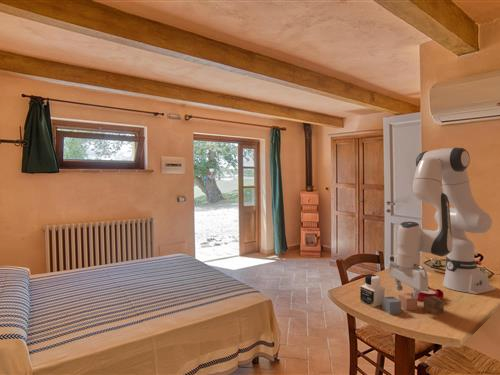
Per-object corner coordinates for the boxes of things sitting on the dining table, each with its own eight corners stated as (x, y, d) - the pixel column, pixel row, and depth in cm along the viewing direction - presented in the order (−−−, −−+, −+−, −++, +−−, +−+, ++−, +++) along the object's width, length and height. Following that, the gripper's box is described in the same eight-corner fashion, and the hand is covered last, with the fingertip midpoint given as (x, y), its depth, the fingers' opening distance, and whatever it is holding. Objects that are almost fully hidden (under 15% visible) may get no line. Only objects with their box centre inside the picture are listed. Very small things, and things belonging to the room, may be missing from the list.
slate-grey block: (393, 308, 132) (393, 296, 132) (400, 313, 127) (401, 301, 127) (382, 309, 131) (382, 297, 131) (389, 314, 126) (390, 302, 126)
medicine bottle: (359, 301, 139) (360, 274, 138) (371, 298, 142) (371, 272, 142) (373, 307, 133) (373, 279, 132) (384, 304, 136) (385, 276, 136)
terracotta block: (408, 304, 136) (409, 293, 136) (417, 309, 131) (417, 297, 131) (398, 305, 135) (398, 294, 135) (406, 310, 130) (406, 298, 130)
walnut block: (434, 308, 132) (434, 296, 132) (443, 313, 128) (443, 301, 127) (423, 309, 132) (423, 297, 131) (432, 314, 127) (433, 302, 126)
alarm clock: (407, 290, 143) (424, 277, 151) (408, 303, 144) (425, 289, 152) (431, 298, 134) (447, 283, 142) (433, 311, 135) (448, 296, 143)
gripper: (433, 268, 122) (431, 303, 123) (399, 255, 143) (398, 285, 143) (418, 268, 121) (417, 304, 122) (386, 255, 141) (385, 286, 142)
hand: (406, 294), depth 133 cm, fingers open, 8 cm apart
